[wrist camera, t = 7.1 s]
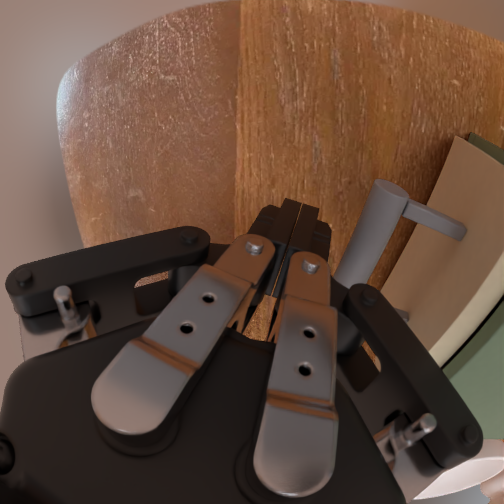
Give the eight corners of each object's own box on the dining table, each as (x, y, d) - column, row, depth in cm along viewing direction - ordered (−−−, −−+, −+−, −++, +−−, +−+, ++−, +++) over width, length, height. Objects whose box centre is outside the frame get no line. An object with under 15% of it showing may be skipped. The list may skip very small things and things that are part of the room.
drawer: (315, 280, 19) (291, 383, 12) (381, 100, 12) (421, 122, 6) (506, 343, 17) (526, 424, 10) (584, 229, 10) (639, 301, 4)
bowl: (490, 382, 20) (500, 443, 15) (510, 430, 24) (514, 471, 18) (342, 435, 31) (332, 485, 26) (403, 468, 35) (399, 504, 30)
